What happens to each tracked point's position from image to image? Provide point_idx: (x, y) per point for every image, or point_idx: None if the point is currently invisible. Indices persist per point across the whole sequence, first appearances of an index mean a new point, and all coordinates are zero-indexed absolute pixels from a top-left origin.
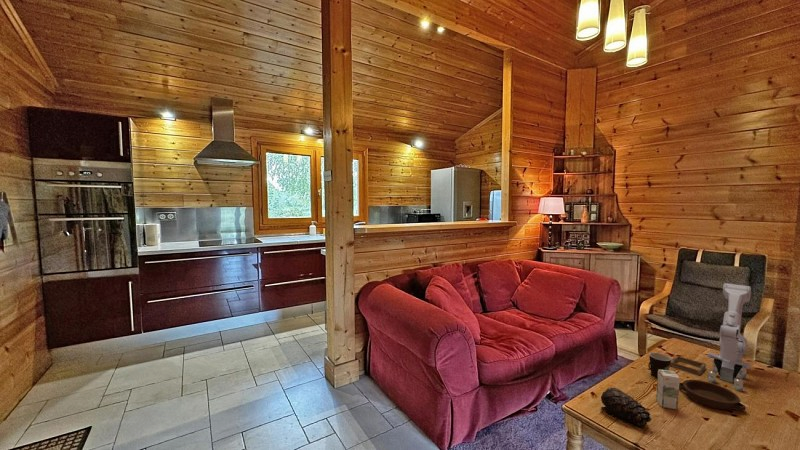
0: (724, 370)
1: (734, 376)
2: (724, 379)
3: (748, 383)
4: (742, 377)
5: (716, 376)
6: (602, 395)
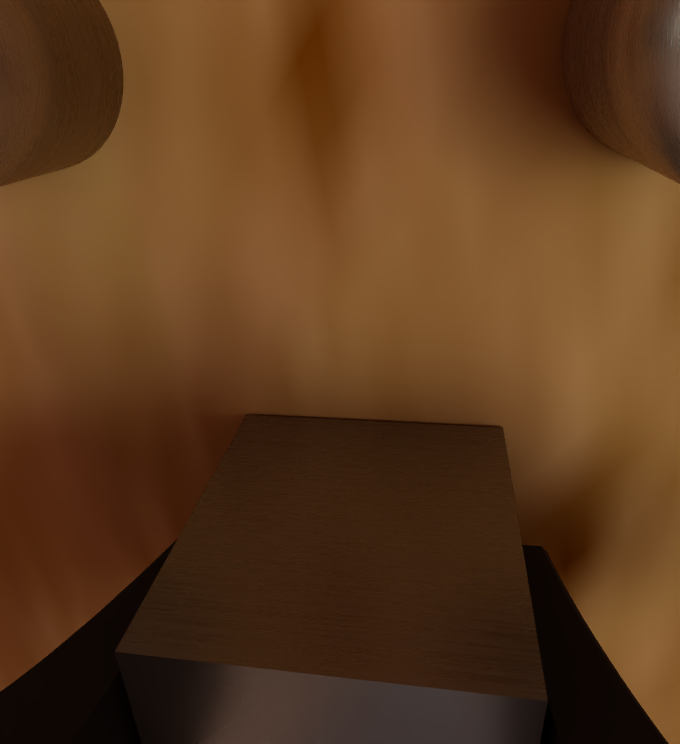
0: (394, 692)
1: None
2: (400, 442)
3: (86, 616)
4: None
5: (633, 32)
6: None
